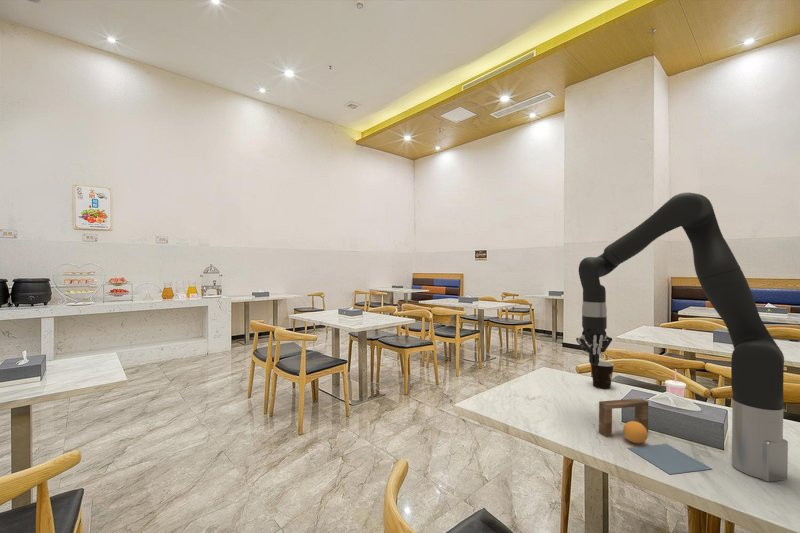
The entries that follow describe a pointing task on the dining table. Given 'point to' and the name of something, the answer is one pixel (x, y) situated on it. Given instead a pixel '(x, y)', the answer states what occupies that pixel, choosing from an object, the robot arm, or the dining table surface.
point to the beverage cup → (675, 386)
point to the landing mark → (669, 459)
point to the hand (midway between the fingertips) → (594, 364)
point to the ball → (635, 432)
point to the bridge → (607, 407)
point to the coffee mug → (602, 375)
